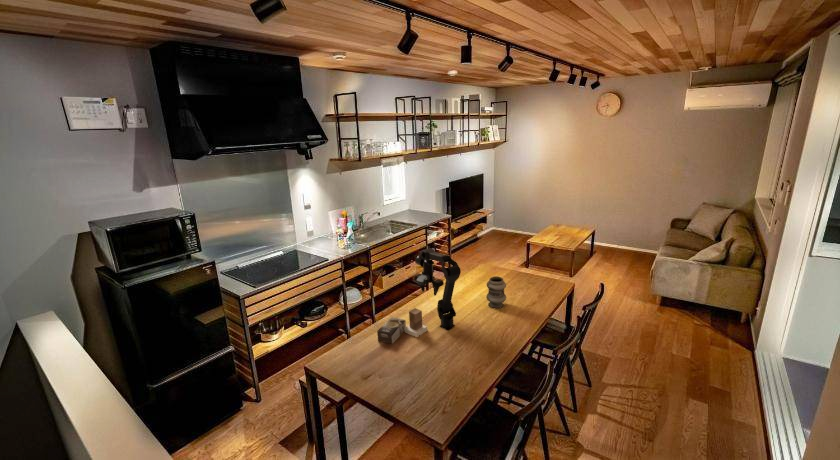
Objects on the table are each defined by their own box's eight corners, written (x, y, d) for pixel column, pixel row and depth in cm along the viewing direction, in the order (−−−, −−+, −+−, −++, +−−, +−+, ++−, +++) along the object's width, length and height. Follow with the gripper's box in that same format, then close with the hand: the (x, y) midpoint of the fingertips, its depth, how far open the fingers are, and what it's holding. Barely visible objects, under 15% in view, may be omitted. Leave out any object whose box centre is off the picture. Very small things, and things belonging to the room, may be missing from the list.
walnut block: (422, 326, 215) (421, 310, 212) (416, 330, 211) (415, 314, 208) (416, 323, 218) (415, 308, 215) (409, 327, 214) (408, 311, 212)
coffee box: (405, 319, 216) (391, 334, 202) (406, 329, 218) (392, 344, 204) (391, 316, 219) (376, 330, 205) (391, 326, 221) (377, 341, 207)
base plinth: (427, 330, 215) (427, 326, 215) (416, 337, 209) (416, 333, 208) (415, 325, 221) (415, 321, 221) (404, 332, 215) (404, 328, 214)
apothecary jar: (484, 308, 237) (484, 281, 231) (488, 299, 247) (488, 273, 242) (504, 311, 232) (504, 284, 227) (507, 302, 243) (508, 276, 238)
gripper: (407, 270, 226) (408, 294, 231) (431, 277, 214) (432, 303, 219) (419, 264, 234) (420, 287, 239) (443, 271, 222) (444, 295, 227)
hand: (429, 293), depth 230 cm, fingers open, 9 cm apart
